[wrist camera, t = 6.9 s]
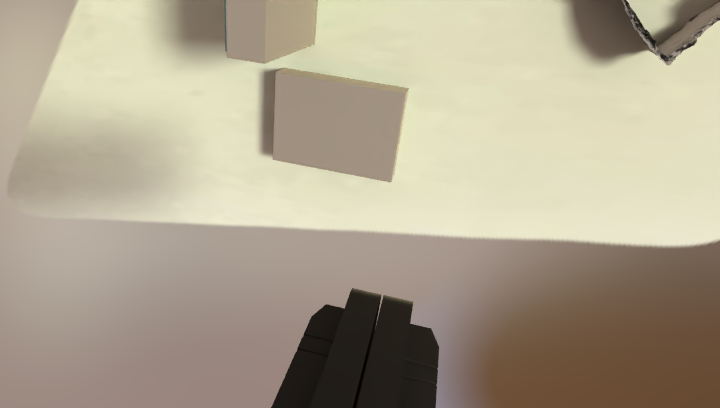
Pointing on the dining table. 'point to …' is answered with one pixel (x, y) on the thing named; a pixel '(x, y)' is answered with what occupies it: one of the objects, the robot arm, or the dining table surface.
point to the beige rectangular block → (337, 123)
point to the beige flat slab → (268, 28)
